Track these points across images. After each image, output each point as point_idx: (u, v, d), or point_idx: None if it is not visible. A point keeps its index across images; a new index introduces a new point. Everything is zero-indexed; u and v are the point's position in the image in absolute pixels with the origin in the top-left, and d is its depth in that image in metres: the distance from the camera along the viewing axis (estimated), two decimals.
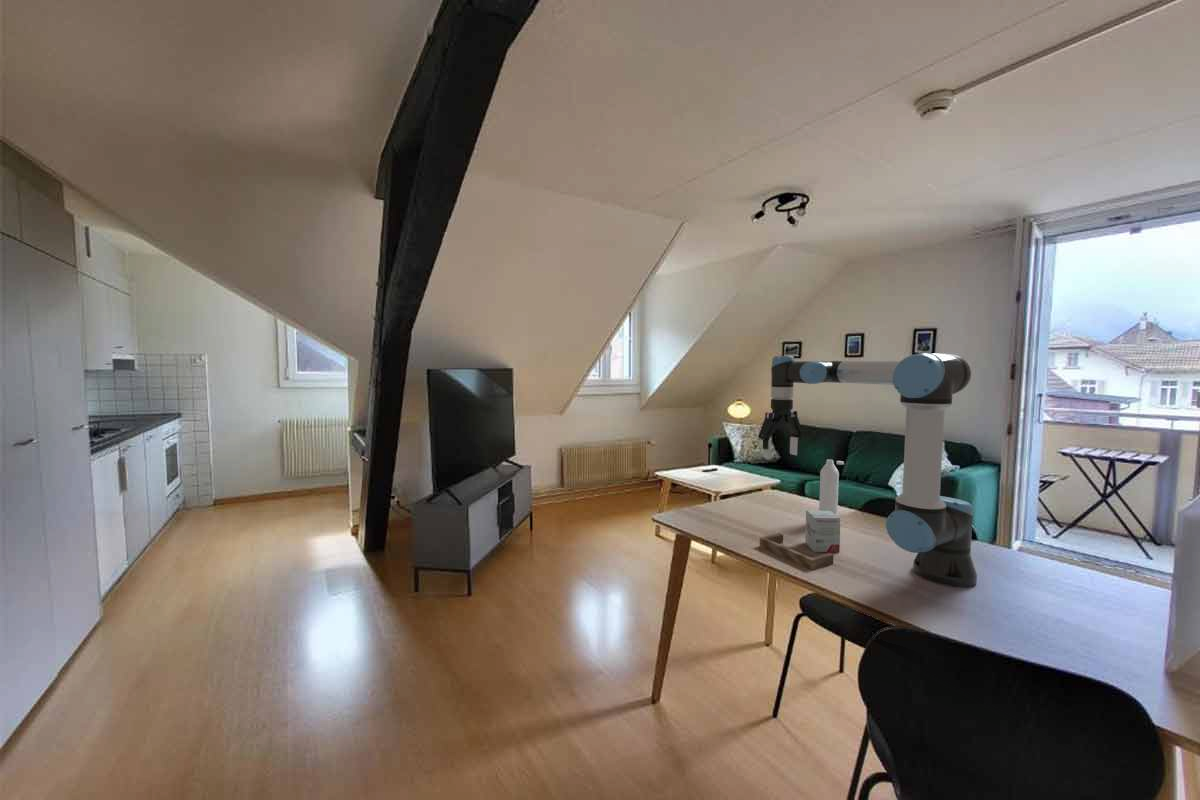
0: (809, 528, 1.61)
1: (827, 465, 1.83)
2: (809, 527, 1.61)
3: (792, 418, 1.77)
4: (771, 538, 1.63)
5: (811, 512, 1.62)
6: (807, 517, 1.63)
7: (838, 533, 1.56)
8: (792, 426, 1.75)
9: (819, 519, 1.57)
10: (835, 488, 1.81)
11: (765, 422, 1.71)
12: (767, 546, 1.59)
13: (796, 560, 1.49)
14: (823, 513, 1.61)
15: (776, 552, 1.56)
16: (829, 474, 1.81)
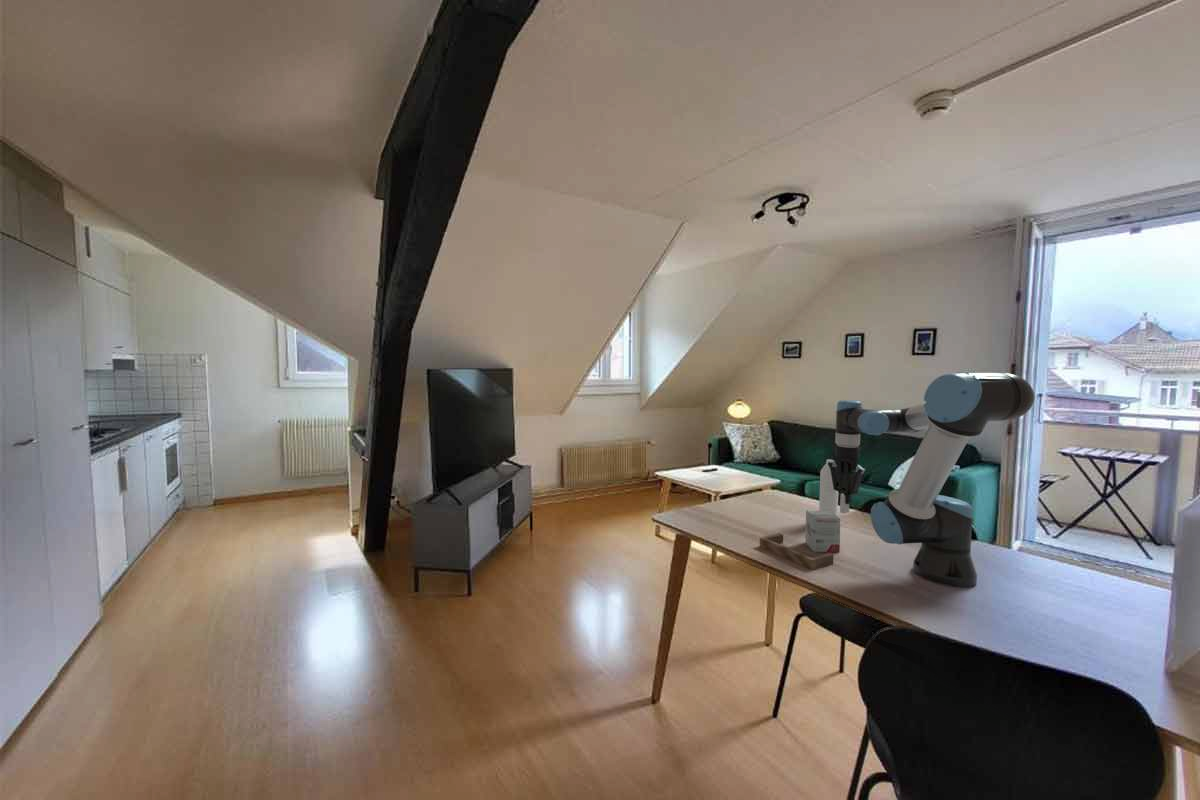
0: (809, 528, 1.61)
1: (827, 465, 1.83)
2: (809, 528, 1.61)
3: None
4: (771, 538, 1.63)
5: (811, 512, 1.62)
6: (807, 517, 1.63)
7: (838, 533, 1.56)
8: (846, 479, 1.64)
9: (819, 519, 1.57)
10: None
11: None
12: (767, 546, 1.59)
13: (796, 560, 1.49)
14: (823, 513, 1.61)
15: (776, 552, 1.56)
16: (829, 474, 1.81)
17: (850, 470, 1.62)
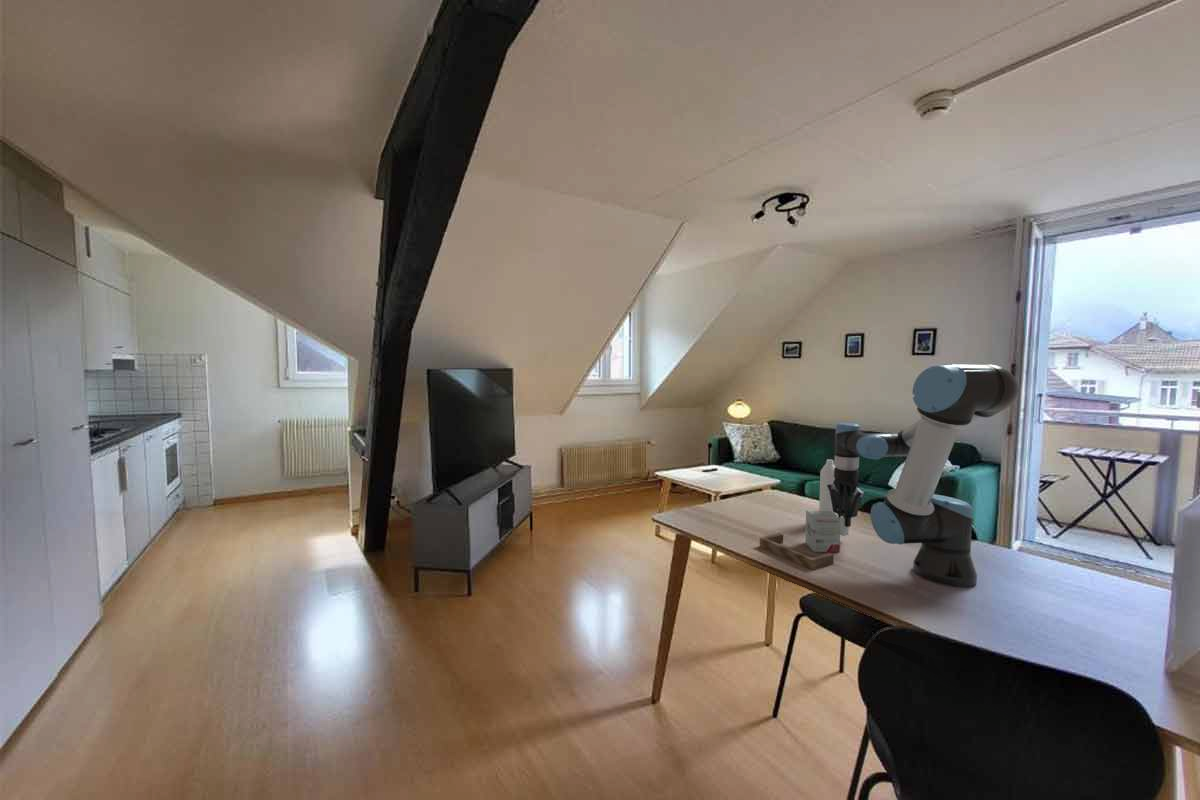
0: (809, 528, 1.61)
1: (827, 465, 1.83)
2: (809, 527, 1.61)
3: None
4: (771, 538, 1.63)
5: (811, 512, 1.62)
6: (807, 517, 1.63)
7: (838, 533, 1.56)
8: (846, 502, 1.64)
9: (819, 519, 1.57)
10: None
11: None
12: (767, 546, 1.59)
13: (796, 560, 1.49)
14: (823, 513, 1.61)
15: (776, 552, 1.56)
16: (829, 474, 1.81)
17: (849, 493, 1.63)
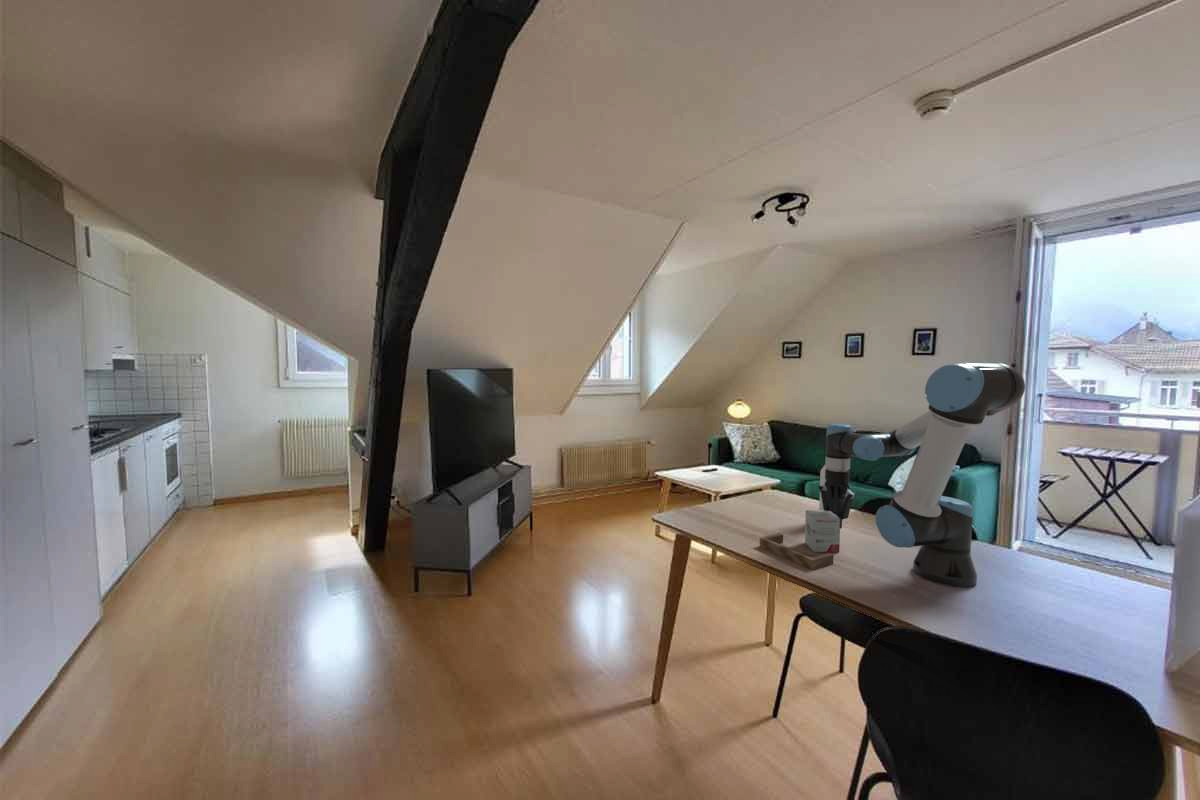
0: (809, 528, 1.60)
1: None
2: (809, 527, 1.61)
3: None
4: (771, 538, 1.63)
5: (811, 512, 1.62)
6: (807, 516, 1.63)
7: (838, 533, 1.56)
8: (837, 503, 1.62)
9: (819, 519, 1.57)
10: None
11: None
12: (767, 546, 1.59)
13: (796, 560, 1.49)
14: (823, 513, 1.61)
15: (776, 552, 1.56)
16: None
17: (840, 494, 1.61)
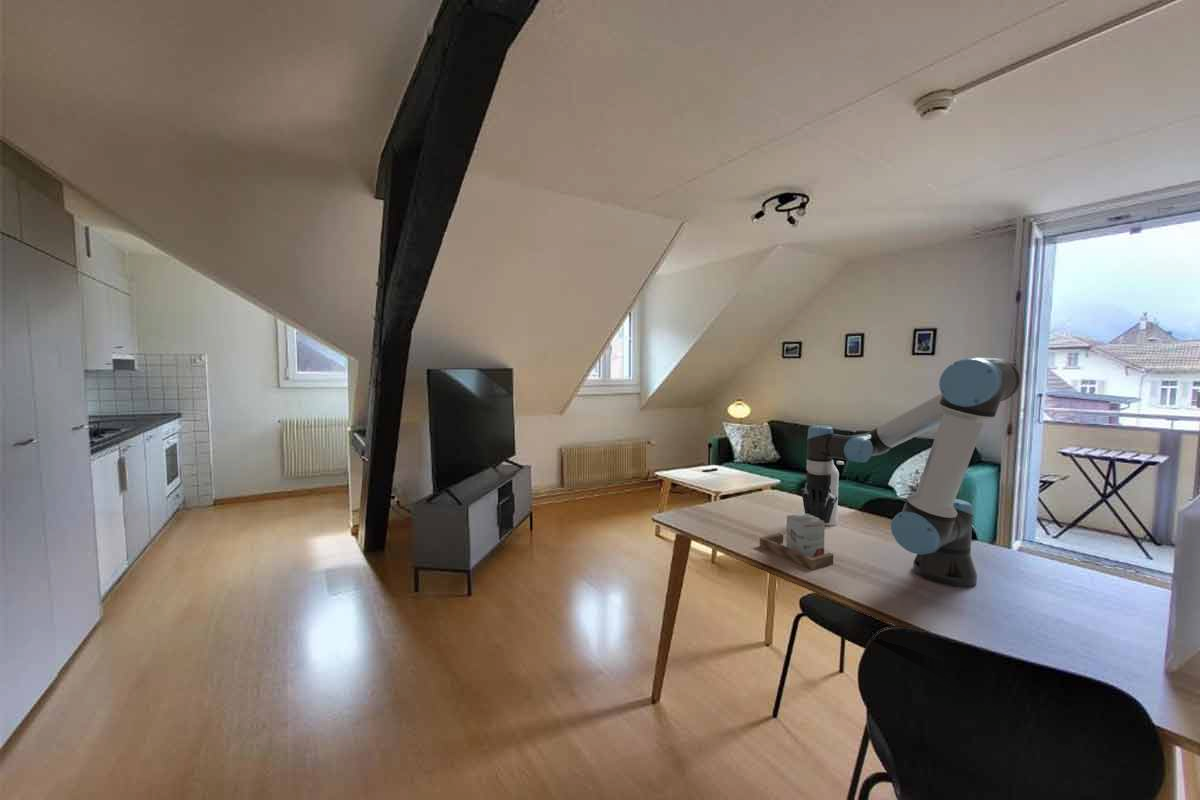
0: (794, 533, 1.55)
1: None
2: (793, 533, 1.56)
3: None
4: (771, 538, 1.63)
5: (794, 517, 1.57)
6: (790, 522, 1.57)
7: (823, 536, 1.53)
8: (818, 507, 1.58)
9: (806, 524, 1.52)
10: (835, 488, 1.81)
11: None
12: (767, 546, 1.59)
13: (796, 560, 1.49)
14: (805, 517, 1.57)
15: (776, 552, 1.56)
16: None
17: (821, 498, 1.56)
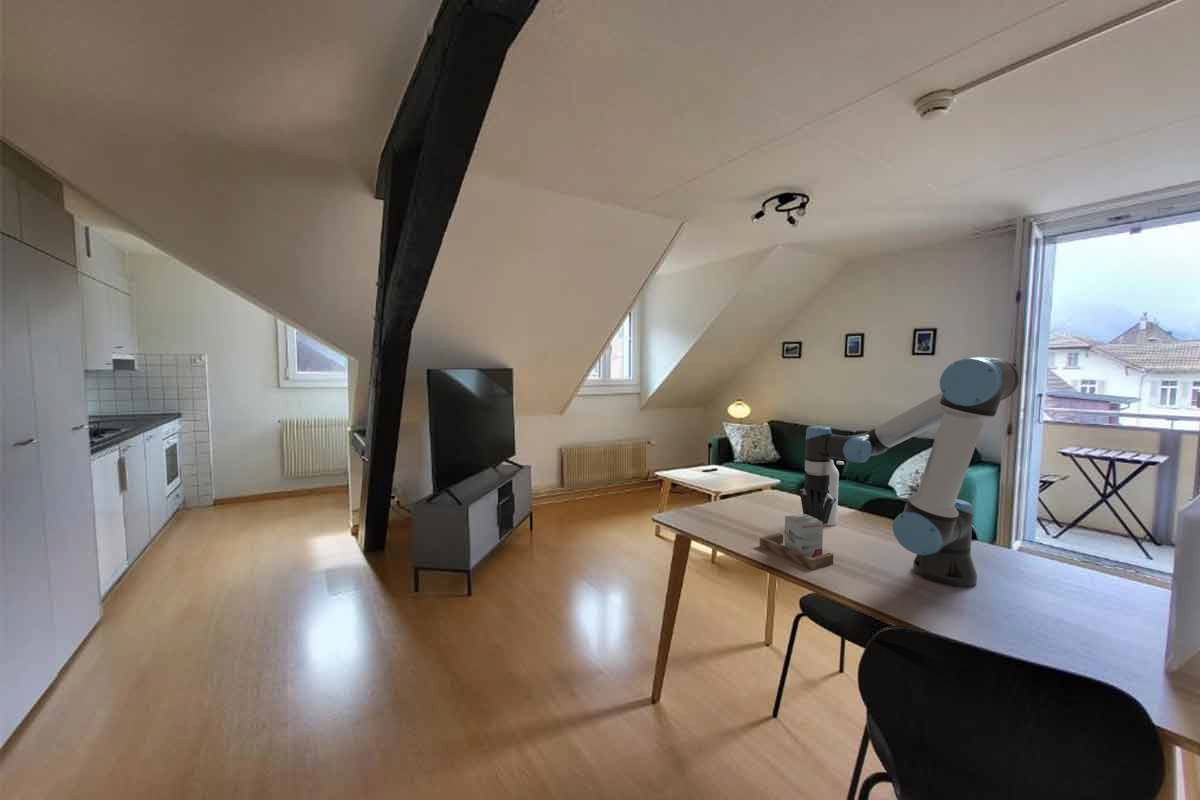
0: (793, 534, 1.54)
1: None
2: (792, 534, 1.55)
3: None
4: (771, 538, 1.63)
5: (792, 518, 1.57)
6: (789, 523, 1.57)
7: (821, 537, 1.53)
8: (816, 508, 1.57)
9: (805, 525, 1.51)
10: (835, 488, 1.81)
11: None
12: (767, 546, 1.59)
13: (796, 560, 1.49)
14: (803, 518, 1.56)
15: (776, 552, 1.56)
16: (829, 474, 1.81)
17: (820, 499, 1.56)
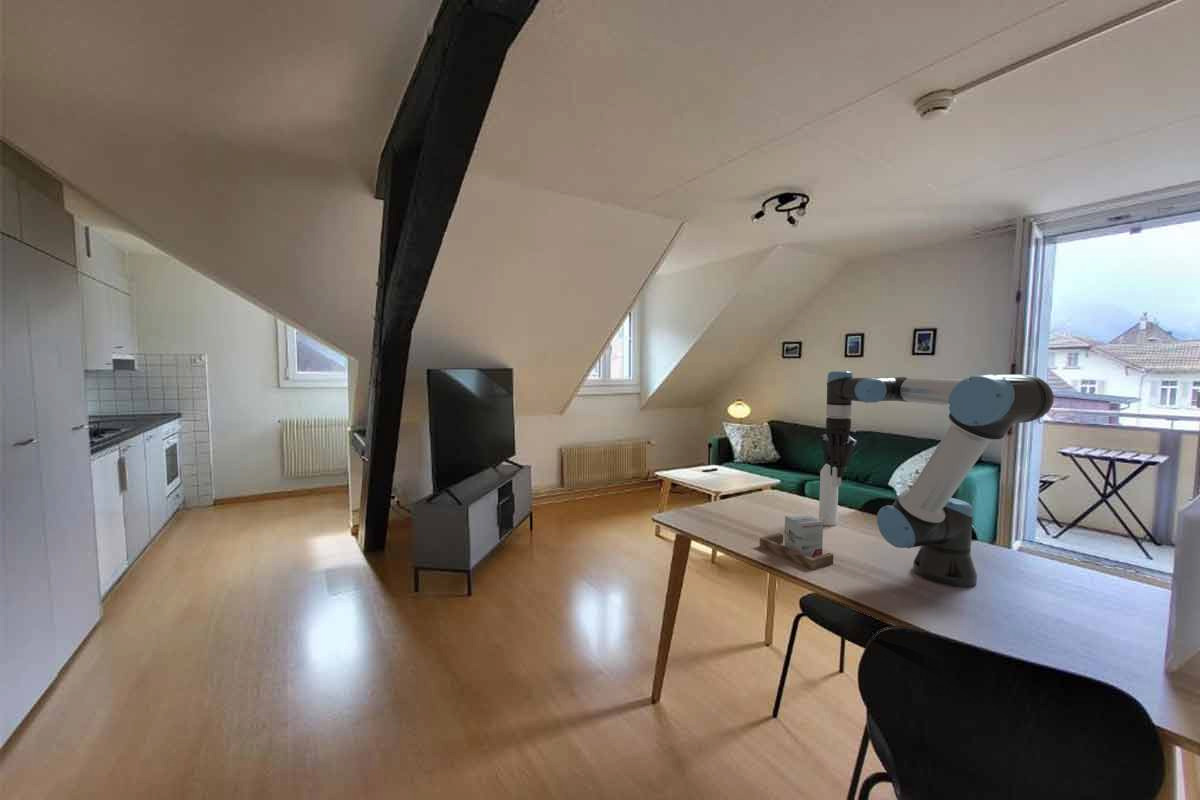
0: (793, 534, 1.54)
1: (827, 465, 1.83)
2: (792, 534, 1.55)
3: None
4: (771, 538, 1.63)
5: (792, 518, 1.57)
6: (789, 523, 1.57)
7: (821, 537, 1.53)
8: (838, 452, 1.60)
9: (805, 525, 1.51)
10: (835, 488, 1.81)
11: None
12: (767, 546, 1.59)
13: (796, 560, 1.49)
14: (803, 518, 1.56)
15: (776, 552, 1.56)
16: (829, 474, 1.81)
17: (841, 442, 1.59)
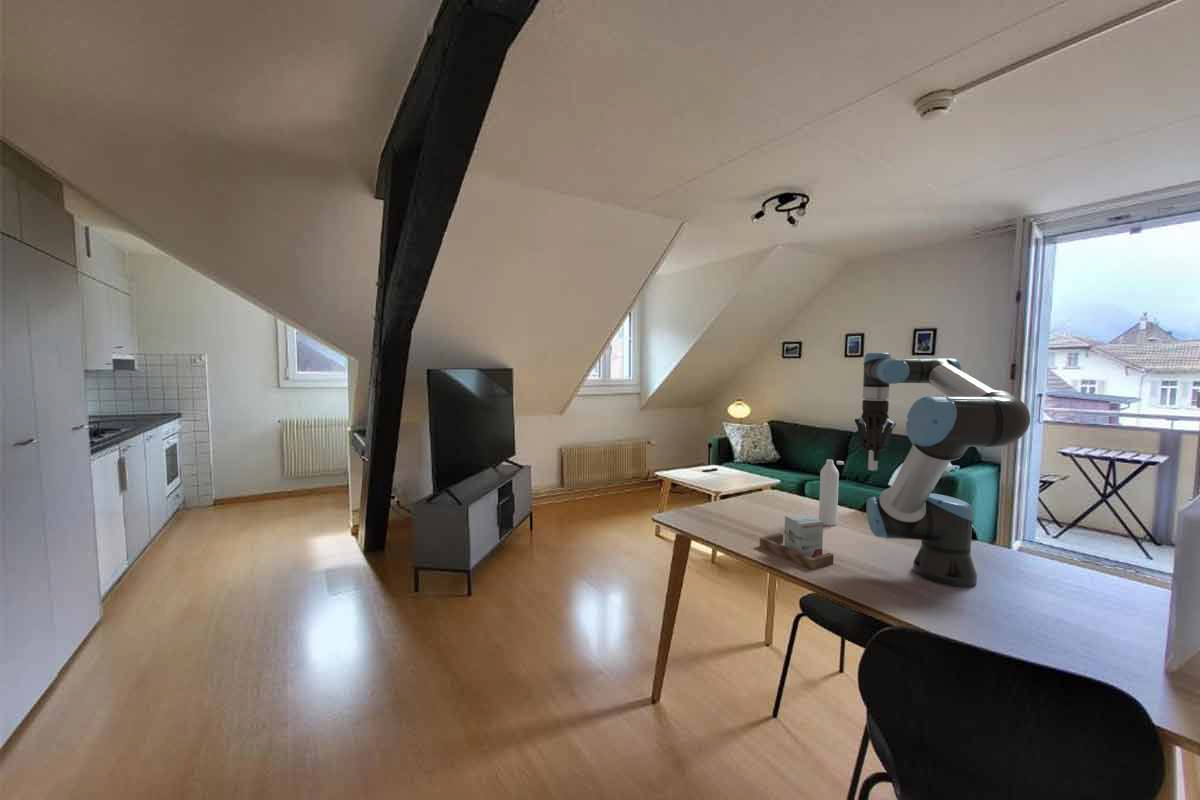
0: (793, 534, 1.54)
1: (827, 465, 1.83)
2: (792, 534, 1.55)
3: None
4: (771, 538, 1.63)
5: (792, 518, 1.57)
6: (789, 523, 1.57)
7: (821, 537, 1.53)
8: (875, 434, 1.57)
9: (805, 525, 1.51)
10: (835, 488, 1.81)
11: None
12: (767, 546, 1.59)
13: (796, 560, 1.49)
14: (803, 518, 1.56)
15: (776, 552, 1.56)
16: (829, 474, 1.81)
17: (879, 425, 1.56)
